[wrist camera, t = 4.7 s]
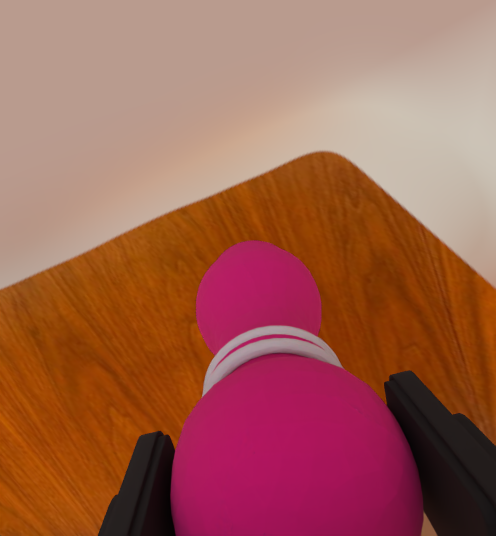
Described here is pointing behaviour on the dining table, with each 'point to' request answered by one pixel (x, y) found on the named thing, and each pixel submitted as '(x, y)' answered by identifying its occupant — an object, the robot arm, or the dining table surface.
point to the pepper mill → (284, 418)
